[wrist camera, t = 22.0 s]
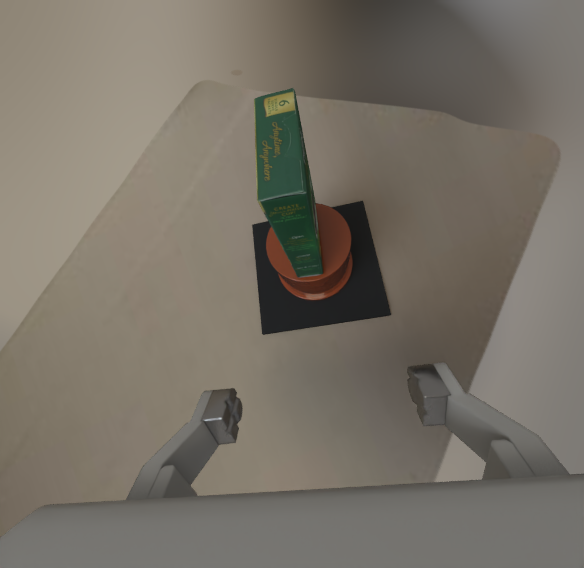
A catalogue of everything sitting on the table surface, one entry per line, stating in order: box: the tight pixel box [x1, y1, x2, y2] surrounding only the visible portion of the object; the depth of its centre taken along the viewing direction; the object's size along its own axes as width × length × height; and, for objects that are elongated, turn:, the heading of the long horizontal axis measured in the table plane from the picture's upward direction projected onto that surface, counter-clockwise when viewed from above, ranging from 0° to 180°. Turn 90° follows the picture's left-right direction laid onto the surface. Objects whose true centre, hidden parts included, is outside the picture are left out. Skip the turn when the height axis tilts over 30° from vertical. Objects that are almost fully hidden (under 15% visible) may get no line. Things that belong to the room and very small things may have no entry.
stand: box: [266, 203, 353, 301], centre depth 30 cm, size 10×10×8 cm
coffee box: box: [254, 88, 323, 278], centre depth 20 cm, size 8×3×13 cm, turn 7°
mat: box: [252, 201, 391, 335], centre depth 34 cm, size 16×16×1 cm
